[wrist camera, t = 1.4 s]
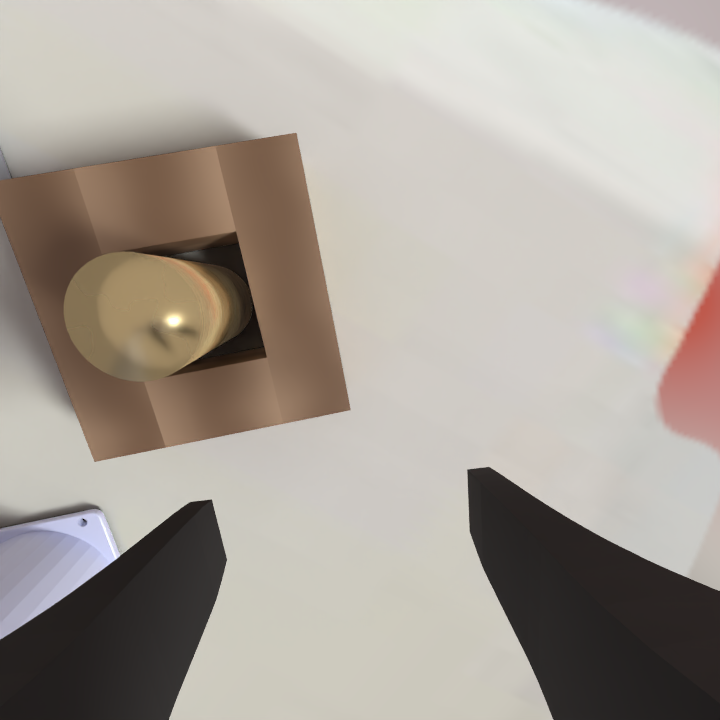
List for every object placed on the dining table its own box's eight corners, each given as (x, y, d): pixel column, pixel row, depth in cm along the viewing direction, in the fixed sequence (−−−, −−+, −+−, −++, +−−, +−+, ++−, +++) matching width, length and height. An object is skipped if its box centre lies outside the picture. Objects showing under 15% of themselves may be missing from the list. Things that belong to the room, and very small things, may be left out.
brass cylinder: (186, 347, 19) (90, 392, 11) (163, 272, 18) (43, 264, 10) (260, 333, 19) (216, 368, 12) (242, 258, 18) (180, 240, 11)
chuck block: (134, 430, 20) (94, 461, 16) (54, 202, 17) (-14, 182, 14) (346, 388, 20) (350, 410, 17) (302, 161, 18) (296, 133, 14)
